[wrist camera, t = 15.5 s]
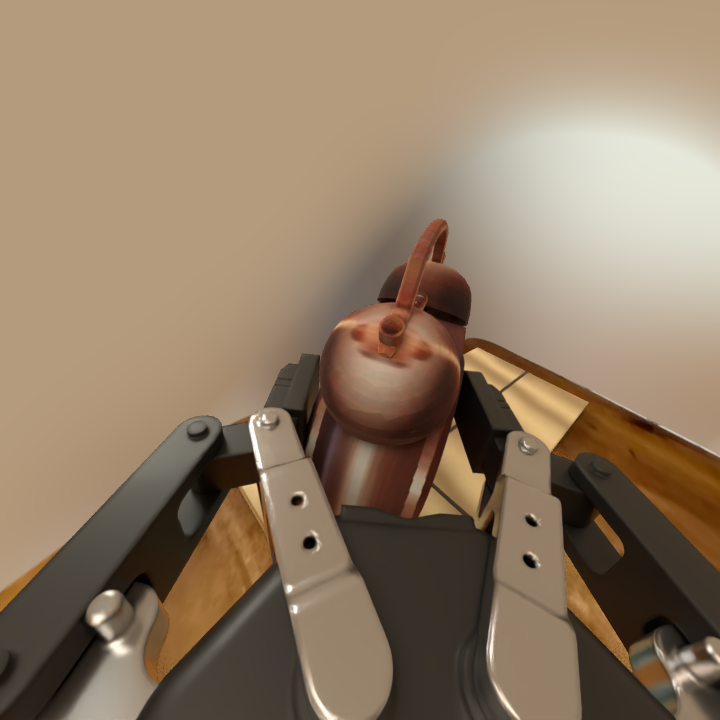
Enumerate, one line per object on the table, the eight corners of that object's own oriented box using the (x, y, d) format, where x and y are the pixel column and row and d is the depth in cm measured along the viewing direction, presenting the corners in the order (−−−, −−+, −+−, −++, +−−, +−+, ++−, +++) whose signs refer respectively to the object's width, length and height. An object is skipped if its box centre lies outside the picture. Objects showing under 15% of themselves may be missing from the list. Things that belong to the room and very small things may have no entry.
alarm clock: (362, 421, 23) (406, 202, 15) (424, 444, 22) (507, 221, 14) (283, 568, 14) (288, 218, 6) (381, 619, 13) (546, 275, 5)
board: (361, 700, 14) (364, 693, 13) (236, 484, 22) (234, 472, 21) (583, 410, 34) (590, 401, 33) (474, 354, 42) (477, 346, 42)
